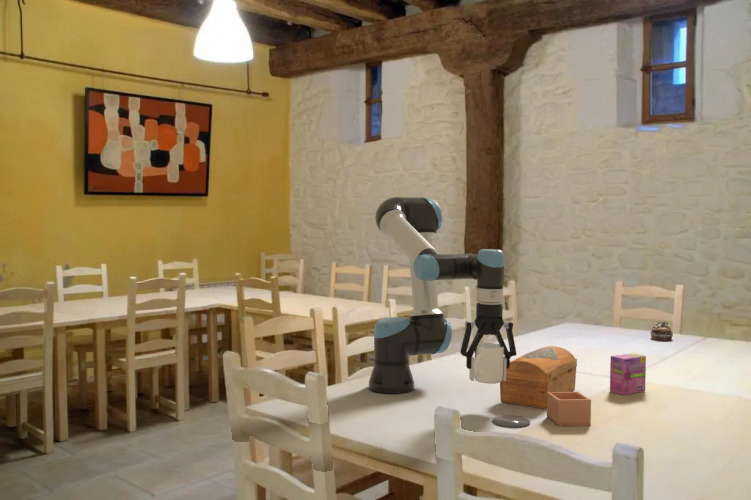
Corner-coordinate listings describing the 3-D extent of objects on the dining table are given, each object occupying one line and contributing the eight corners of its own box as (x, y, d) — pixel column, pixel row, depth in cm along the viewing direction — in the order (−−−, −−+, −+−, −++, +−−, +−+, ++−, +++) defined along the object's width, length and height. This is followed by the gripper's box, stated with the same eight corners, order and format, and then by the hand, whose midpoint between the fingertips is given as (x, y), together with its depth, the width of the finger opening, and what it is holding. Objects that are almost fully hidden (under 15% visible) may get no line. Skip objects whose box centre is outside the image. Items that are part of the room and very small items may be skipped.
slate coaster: (498, 428, 182) (498, 425, 182) (488, 417, 192) (488, 415, 192) (535, 427, 183) (535, 425, 183) (523, 416, 193) (523, 414, 193)
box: (623, 395, 218) (623, 358, 218) (609, 391, 223) (609, 355, 223) (646, 391, 223) (646, 355, 223) (632, 388, 228) (632, 352, 228)
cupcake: (646, 342, 321) (646, 320, 321) (665, 341, 322) (666, 320, 322) (656, 345, 312) (657, 323, 311) (676, 345, 313) (677, 323, 312)
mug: (486, 388, 192) (487, 351, 191) (461, 382, 197) (462, 347, 196) (507, 380, 201) (509, 345, 200) (483, 375, 206) (484, 341, 205)
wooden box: (529, 383, 235) (530, 343, 234) (577, 390, 226) (578, 348, 225) (494, 402, 210) (495, 357, 209) (547, 410, 201) (547, 363, 200)
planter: (558, 426, 184) (558, 400, 183) (546, 416, 193) (547, 392, 192) (590, 425, 184) (591, 399, 184) (577, 416, 193) (578, 391, 193)
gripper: (455, 304, 194) (453, 383, 195) (529, 304, 196) (527, 382, 197) (450, 300, 202) (448, 376, 203) (522, 301, 203) (519, 376, 205)
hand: (487, 379), depth 200 cm, fingers closed on mug, 9 cm apart
